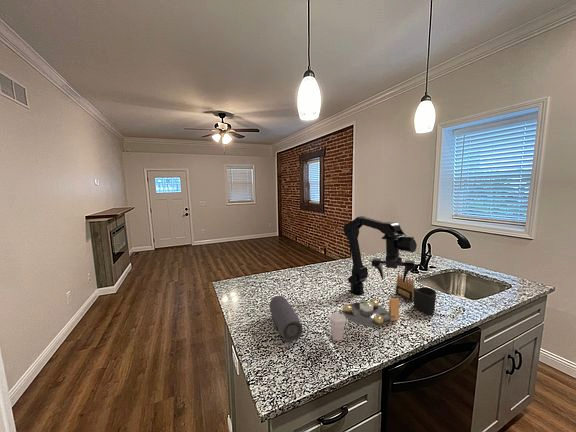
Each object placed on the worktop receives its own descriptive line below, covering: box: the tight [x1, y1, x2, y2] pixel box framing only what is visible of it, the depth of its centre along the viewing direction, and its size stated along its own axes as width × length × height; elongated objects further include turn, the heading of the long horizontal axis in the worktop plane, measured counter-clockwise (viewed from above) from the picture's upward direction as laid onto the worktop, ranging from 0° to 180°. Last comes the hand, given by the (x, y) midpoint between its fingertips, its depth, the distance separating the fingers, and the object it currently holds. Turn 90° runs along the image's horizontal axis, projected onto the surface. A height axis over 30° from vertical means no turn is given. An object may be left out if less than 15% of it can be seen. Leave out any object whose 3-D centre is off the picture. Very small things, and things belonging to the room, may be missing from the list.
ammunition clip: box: [395, 272, 415, 302], centre depth 131 cm, size 11×2×12 cm, turn 23°
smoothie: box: [329, 305, 347, 342], centre depth 95 cm, size 6×6×14 cm
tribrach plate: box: [342, 299, 390, 327], centre depth 113 cm, size 21×21×6 cm
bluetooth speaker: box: [269, 295, 304, 342], centre depth 104 cm, size 23×9×10 cm, turn 17°
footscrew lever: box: [373, 297, 400, 326], centre depth 106 cm, size 12×4×10 cm, turn 104°
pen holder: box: [412, 286, 437, 316], centre depth 117 cm, size 9×9×10 cm
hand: (393, 281), depth 118 cm, fingers open, 9 cm apart
